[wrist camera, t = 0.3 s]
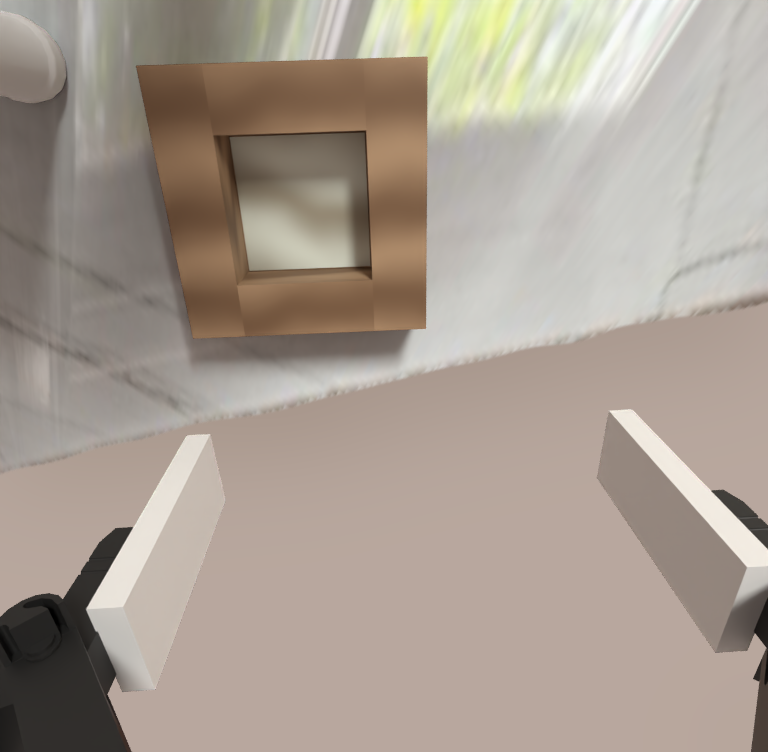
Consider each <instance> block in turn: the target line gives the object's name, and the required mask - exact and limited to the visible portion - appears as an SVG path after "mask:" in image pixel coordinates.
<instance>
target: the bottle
mask: <svg viewBox="0 0 768 752" xmlns="http://www.w3.org/2000/svg"><path fill="white" fill-rule="evenodd" d="M66 77H67V76H66V63H65V59H64V57H63V55H62V52H61V50H60V48H59V46H58V44H57V43H56V42H55V41H54V40H53V38H52V37H51V36H50V35H49V34H48V32H47V31H46V30H44V29H43V28H41V27H40V26H38V25H37V24H35V23H34V22H32V21H31V20H29V19H27V18H26V17H23V16H21V15H18V14H13V13H9V12H4V11H0V96H6V97H8V98H10V99H11V100H15V101H21V102H26V103H38V102H42V101H46V100H50V99H53V98H54V97H55V96H56V95H57V94H58V93H59V92H60V91H61V90H62V89H63V86H64V83H65V80H66Z"/></svg>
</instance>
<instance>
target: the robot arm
mask: <svg viewBox="0 0 768 752" xmlns="http://www.w3.org/2000/svg"><path fill="white" fill-rule="evenodd" d="M597 479H598V480H599V482H600V483H601V485H602V486H603V488H604V489H605V490H606V492H607V494H608V495H609V497H610V498H611V500H612V501H613V502H614V504H615V505H616V507H617V508H618V510H619V511H620V513H621V514H622V516H623V517H624V518H625V520H626V521H627V523H628V525H629V526H630V527H631V529H632V531H633V532H634V533H635V535H636V536H637V538H638V539H639V541H640V542H641V544H642V545H643V547H644V548H645V550H646V551H647V553H648V554H649V556H650V557H651V559H652V560H653V562H654V563H655V565H656V566H657V567H658V569H659V570H660V572H661V573H662V575H663V576H664V578H665V579H666V581H667V582H668V584H669V585H670V587H671V588H672V590H673V591H674V592H675V594H676V596H677V597H678V598H679V600H680V601H681V603H682V604H683V606H684V607H685V609H686V610H687V612H688V613H689V615H690V616H691V618H692V619H693V621H694V622H695V624H696V625H697V626H698V628H699V629H700V631H701V632H702V634H703V635H704V637H705V638H706V640H707V641H708V643H709V644H710V646H711V647H712V648H713V650H714V652H715V653H719V652H733V651H747V650H748V648H749V645H750V643H751V641H752V638H753V636H754V633H755V634H756V635H757V636H758V637H759V639H760V640H761V641H762V642H763V644H764V645H765V646H766V648H767V649H766V651H765V653H764V655H763V657H762V660H761V662H760V664H759V666H758V669H757V671H756V674H755V676H754V678H753V679H755V680H757V681H759V680H760V683H759V690H758V699H757V707H756V715H755V725H754V733H753V741H752V749H751V752H768V525H767V524H766V523H765V522H764V521H763V520H762V519H759V518H758V515H757V514H756V513H754V512H753V511H752V510H751V509H750V508H749V507H748V506H747V505H746V504H745V503H744V502H743V501H741V500H740V499H738V498H736V497H735V496H733V495H731V494H730V493H728V492H726V491H724V490H713V491H711V490H710V489H709V488H708V487H707V486H706V485H705V484H704V483H703V482H702V481H701V480H700V479H699V478H698V477H697V476H696V475H695V474H694V473H693V472H692V471H691V470H690V469H689V468H688V467H687V466H686V465H685V464H684V463H683V462H682V461H681V460H680V459H679V458H678V457H677V455H676V454H675V453H674V452H673V451H672V450H671V449H670V448H669V447H668V446H667V445H666V444H665V443H664V442H663V441H662V440H661V439H660V438H659V437H658V436H657V435H656V434H655V433H654V432H653V431H652V430H651V429H650V428H649V427H648V426H647V425H646V424H645V423H644V421H643V420H642V419H641V418H639V416H637V414H636V413H635V412H634V411H633V410H632V409H629V410H613V411H609V413H608V418H607V423H606V429H605V435H604V441H603V447H602V452H601V458H600V463H599V469H598V475H597ZM225 501H226V499H225V495H224V491H223V487H222V482H221V478H220V473H219V469H218V465H217V461H216V456H215V452H214V448H213V444H212V439H211V435H210V434H204V435H203V434H202V435H187V436H186V438H185V439H184V441H183V443H182V445H181V446H180V448H179V450H178V451H177V453H176V455H175V457H174V458H173V460H172V462H171V464H170V465H169V467H168V469H167V471H166V472H165V474H164V476H163V477H162V479H161V481H160V482H159V484H158V486H157V488H156V489H155V491H154V493H153V495H152V496H151V498H150V500H149V501H148V503H147V505H146V507H145V508H144V510H143V512H142V514H141V516H140V517H139V519H138V521H137V522H136V524H135V526H134V527H128V528H115V530H113V531H112V532H111V533H110V534H109V535H107V536H106V537H105V538H104V539H103V540H102V541H101V542H99V544H98V545H97V547H96V549H95V550H94V552H93V553H92V555H91V556H90V558H89V562H87V563H86V564H85V566H84V567H83V569H82V571H81V575H78V577H77V578H76V580H75V582H74V583H73V584H72V586H71V588H70V589H69V591H68V592H67V594H66V595H65V597H64V599H62V598H61V597H60V596H59V595H54V594H50V593H48V594H41V595H35V596H33V597H30V598H28V599H25V600H23V601H21V602H19V603H18V604H16V605H14V606H13V607H11V608H10V609H8V610H7V611H6V612H5V613H4V614H3V615H2V616H1V617H0V752H131V749H130V747H129V745H128V742H127V740H126V737H125V735H124V733H123V730H122V728H121V725H120V723H119V721H118V718H117V716H116V713H115V711H114V709H113V706H112V704H111V701H110V699H109V697H108V695H107V694H108V692H109V690H110V687H111V685H112V683H113V681H114V679H115V676H116V679H117V681H118V683H119V685H120V688H121V690H122V692H128V691H143V690H156V687H157V685H158V682H159V679H160V676H161V674H162V671H163V668H164V666H165V663H166V660H167V658H168V655H169V652H170V650H171V647H172V644H173V641H174V638H175V636H176V633H177V630H178V628H179V625H180V623H181V620H182V617H183V615H184V612H185V609H186V606H187V604H188V601H189V598H190V595H191V593H192V590H193V588H194V585H195V582H196V580H197V577H198V574H199V571H200V569H201V566H202V563H203V560H204V558H205V555H206V553H207V550H208V547H209V544H210V542H211V539H212V536H213V534H214V531H215V528H216V526H217V523H218V520H219V517H220V515H221V512H222V509H223V507H224V504H225Z"/></svg>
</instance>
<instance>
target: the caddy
mask: <svg viewBox="0 0 768 752" xmlns="http://www.w3.org/2000/svg"><path fill="white" fill-rule="evenodd" d="M136 68H137V73H138V78H139V83H140V87H141V92H142V97H143V102H144V106H145V111H146V116H147V121H148V126H149V130H150V135H151V140H152V145H153V149H154V154H155V159H156V164H157V169H158V173H159V178H160V183H161V188H162V192H163V197H164V202H165V207H166V212H167V216H168V221H169V226H170V231H171V236H172V240H173V245H174V250H175V255H176V259H177V264H178V269H179V274H180V279H181V283H182V288H183V293H184V298H185V302H186V307H187V312H188V317H189V322H190V326H191V331H192V336H193V339H196V338H220V337H243V336H267V335H290V334H314V333H337V332H361V331H384V330H408V329H426V228H427V57H400V58H368V59H335V60H303V61H270V62H238V63H205V64H173V65H140V66H136Z"/></svg>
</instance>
